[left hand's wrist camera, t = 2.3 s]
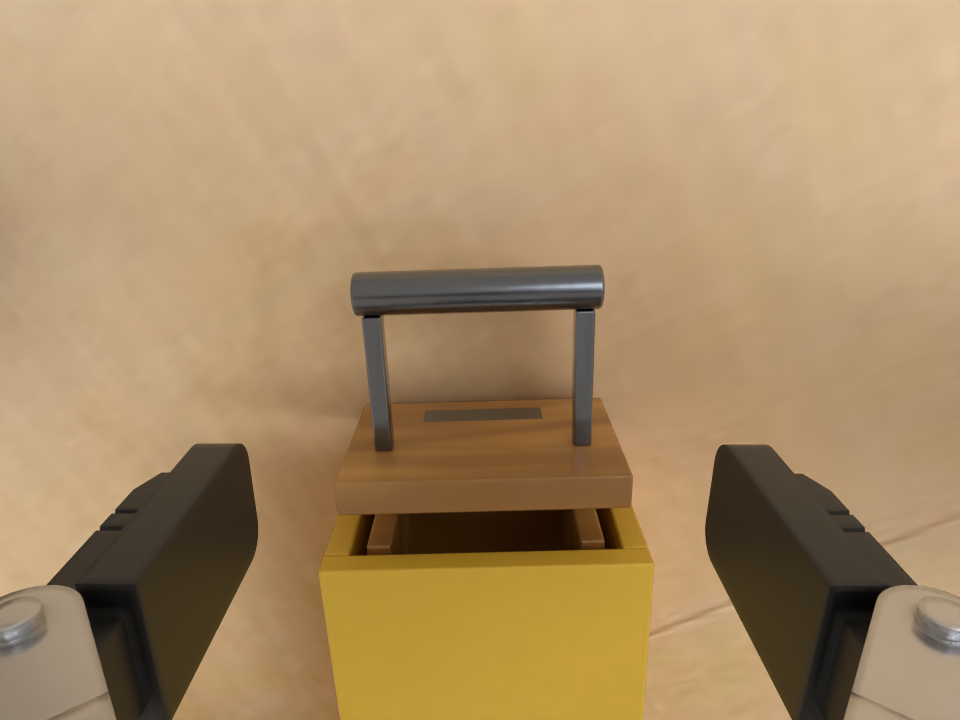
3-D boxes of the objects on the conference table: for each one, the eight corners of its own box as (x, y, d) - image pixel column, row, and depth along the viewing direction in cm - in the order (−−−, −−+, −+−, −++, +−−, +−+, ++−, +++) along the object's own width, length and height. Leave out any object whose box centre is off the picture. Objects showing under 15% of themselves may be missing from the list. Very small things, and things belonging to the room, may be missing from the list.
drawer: (349, 250, 24) (308, 292, 18) (606, 242, 23) (644, 282, 18) (399, 729, 32) (381, 859, 26) (589, 725, 32) (611, 855, 26)
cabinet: (360, 451, 28) (317, 572, 20) (609, 444, 27) (655, 563, 20) (395, 767, 34) (371, 944, 27) (596, 763, 34) (627, 939, 27)
